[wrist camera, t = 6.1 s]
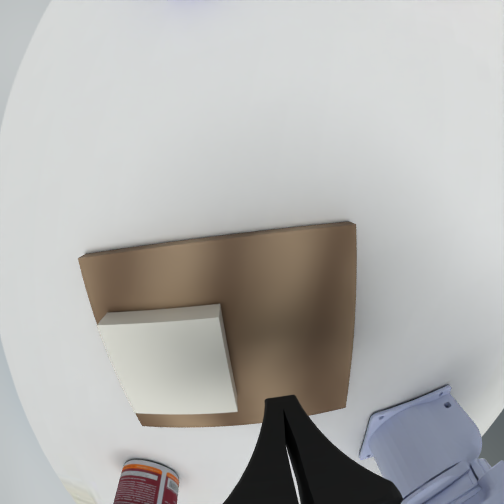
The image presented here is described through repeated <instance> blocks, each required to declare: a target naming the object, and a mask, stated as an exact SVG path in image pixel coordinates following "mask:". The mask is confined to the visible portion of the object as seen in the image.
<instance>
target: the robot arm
mask: <svg viewBox="0 0 504 504" xmlns="http://www.w3.org/2000/svg"><path fill="white" fill-rule="evenodd" d="M450 391H451V386H450V385H447V386H445V387H443V388H441V389H439V390H436V391H434V392H432V393H429V394H427V395H425V396H422V397H420V398H417V399H415V400H412V401H410V402H407V403H404V404H402V405H399V406H396V407H393V408H390V409H387V410H384V411H381V412H378V413H375V414H373V415H372V416H371V418H370V421H369V425H368V428H367V432H366V435H365V439H364V442H363V445H362V449H361V452H360V455H359V458H360V460H363V459H366V458H370V457H373V456H374V458H375V461H376V463H377V465H378V467H379V469H380V472H381V474H382V476H383V477H381V476H379V475H377V474H375V473H373V472H371V471H369V470H367V469H366V468H364V467H363V466H361V465H359V464H358V463H356V462H355V461H353V460H352V459H351V458H349V457H348V456H347V455H345V454H344V453H343V452H341V451H340V450H339V449H338V448H337V447H336V446H335V445H333V444H332V443H331V442H330V441H329V440H328V439H327V438H326V437H325V436H324V434H323V433H322V432H321V431H320V430H319V429H318V428H317V427H316V425H315V424H314V423H313V422H312V420H311V419H310V418H309V416H308V415H307V414H306V412H305V411H304V409H303V408H302V406H301V404H300V403H299V401H298V399H297V397H296V396H295V395H287V396H281V397H274V398H267V399H265V400H264V402H265V409H264V417H263V422H262V427H261V431H260V434H259V438H258V441H257V444H256V447H255V449H254V452H253V454H252V457H251V459H250V461H249V463H248V466H247V467H246V469H245V471H244V473H243V475H242V477H241V479H240V480H239V482H238V483H237V485H236V486H235V488H234V489H233V491H232V492H231V494H230V495H229V497H228V498H227V499H226V501H225V502H224V503H223V504H299V503H298V499H297V495H296V490H295V486H294V482H293V478H292V473H291V469H290V464H289V459H288V455H287V450H288V454H289V457H290V460H291V464H292V467H293V470H294V474H295V477H296V481H297V485H298V490H299V496H300V501H301V504H504V461H502V460H501V461H500V462H498V463H497V464H496V465H495V466H493V467H491V466H490V465H489V463H488V462H487V461H486V460H485V459H484V458H480V459H478V457H479V455H480V452H481V449H482V439H481V434H480V431H479V429H478V427H477V426H476V424H475V423H474V422H473V421H472V419H471V418H470V417H469V416H468V414H467V413H466V412H465V411H464V410H463V408H462V407H461V406H460V405H459V404H458V403H457V401H456V400H455V399H454V398H453V397H452V396H451V394H450ZM286 447H287V450H286Z"/></svg>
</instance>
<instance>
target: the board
mask: <svg viewBox="0 0 504 504" xmlns="http://www.w3.org/2000/svg"><path fill="white" fill-rule="evenodd" d="M78 260H79V265H80V269H81V272H82V276H83V280H84V284H85V287H86V291H87V294H88V298H89V301H90V304H91V307H92V310H93V313H94V317H95V319H96V322H97V324H98V323H99V322H100V321H101V319H102V318H103V317H104V316H105V315H106V314H107V313H111V312H128V311H143V310H157V309H169V308H181V307H192V306H202V305H212V304H220V305H221V311H222V317H223V323H224V329H225V334H226V340H227V345H228V351H229V356H230V361H231V367H232V372H233V377H234V382H235V387H236V392H237V406H238V412H229V413H213V414H142V413H136V415H137V417H138V419H139V421H140V423H141V424H142V426H151V427H218V426H234V425H246V424H256V423H262V422H263V417H264V409H265V402H264V400H265V399H267V398H274V397H281V396H287V395H295V396H296V397H297V399H298V401H299V403H300V404H301V406H302V408H303V409H304V411H305V412H306V414H307V415H308V416H309V415H314V414H319V413H324V412H328V411H333V410H337V409H341V408H345V407H346V401H347V394H348V386H349V378H350V369H351V360H352V349H353V337H354V323H355V304H356V266H357V250H356V224H354V223H352V222H339V223H329V224H319V225H310V226H300V227H291V228H282V229H273V230H264V231H255V232H247V233H238V234H230V235H222V236H214V237H205V238H198V239H190V240H182V241H174V242H167V243H159V244H152V245H145V246H137V247H130V248H123V249H116V250H109V251H102V252H96V253H89V254H85V255H83V256H81V257H80V258H78Z"/></svg>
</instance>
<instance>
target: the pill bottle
mask: <svg viewBox="0 0 504 504" xmlns="http://www.w3.org/2000/svg"><path fill="white" fill-rule="evenodd" d="M178 488H179V478H178V476H177V475H176V474H175V473H174V472H173V471H172V470H170V469H169V468H167V467H165V466H162V465H160V464H157V463H153V462H150V461H145V460H131V461H128V462H126V463H125V464H124V467H123V470H122V473H121V477H120V480H119V484H118V488H117V492H116V495H115V499H114V503H113V504H177V497H178Z"/></svg>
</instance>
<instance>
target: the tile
mask: <svg viewBox="0 0 504 504" xmlns="http://www.w3.org/2000/svg"><path fill="white" fill-rule="evenodd" d="M97 328H98V330H99V333H100V336H101V339H102V341H103V344H104V346H105V349H106V352H107V354H108V357H109V359H110V361H111V364H112V366H113V369H114V371H115V373H116V375H117V378H118V380H119V382H120V384H121V386H122V389H123V391H124V393H125V395H126V397H127V399H128V401H129V403H130V405H131V407H132V409H133V411H134V413H142V414H213V413H229V412H238V406H237V392H236V387H235V382H234V377H233V372H232V367H231V361H230V356H229V351H228V345H227V340H226V334H225V329H224V323H223V317H222V311H221V305H220V304H212V305H202V306H192V307H181V308H169V309H157V310H143V311H128V312H111V313H107V314H106V315H105V316H104V317H103V318H102V319H101V321H100V322H99V323H98V324H97Z"/></svg>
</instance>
